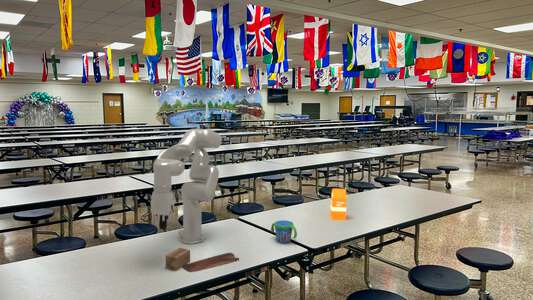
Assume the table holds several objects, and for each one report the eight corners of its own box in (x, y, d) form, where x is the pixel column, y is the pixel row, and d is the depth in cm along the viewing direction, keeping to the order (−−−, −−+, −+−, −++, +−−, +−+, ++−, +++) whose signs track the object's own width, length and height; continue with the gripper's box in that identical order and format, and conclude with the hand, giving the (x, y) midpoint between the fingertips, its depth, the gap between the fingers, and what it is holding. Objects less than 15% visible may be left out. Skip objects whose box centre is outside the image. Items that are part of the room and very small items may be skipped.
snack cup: (266, 239, 197) (266, 221, 195) (278, 235, 204) (279, 217, 203) (288, 248, 186) (288, 229, 185) (300, 242, 194) (301, 224, 192)
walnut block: (165, 268, 160) (165, 255, 160) (179, 259, 169) (179, 247, 169) (176, 271, 158) (176, 258, 157) (190, 262, 167) (190, 249, 166)
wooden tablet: (188, 271, 155) (179, 260, 163) (187, 276, 156) (179, 265, 164) (241, 258, 170) (231, 249, 178) (240, 263, 170) (230, 253, 178)
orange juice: (345, 220, 233) (347, 190, 231) (331, 220, 234) (333, 189, 231) (343, 216, 241) (344, 187, 239) (330, 216, 241) (331, 187, 239)
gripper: (143, 188, 162) (144, 228, 164) (170, 192, 156) (171, 233, 158) (155, 185, 169) (155, 223, 171) (181, 189, 163) (181, 228, 165)
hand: (163, 228), depth 165 cm, fingers closed
